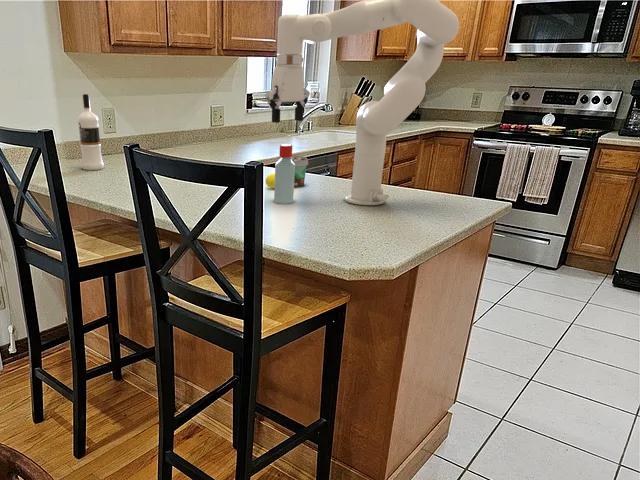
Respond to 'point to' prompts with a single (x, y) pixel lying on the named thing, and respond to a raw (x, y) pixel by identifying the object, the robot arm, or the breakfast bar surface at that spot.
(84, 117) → the vodka
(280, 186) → the bottle
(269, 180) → the lemon
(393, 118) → the robot arm
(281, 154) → the cap
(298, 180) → the food container
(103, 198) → the breakfast bar surface
